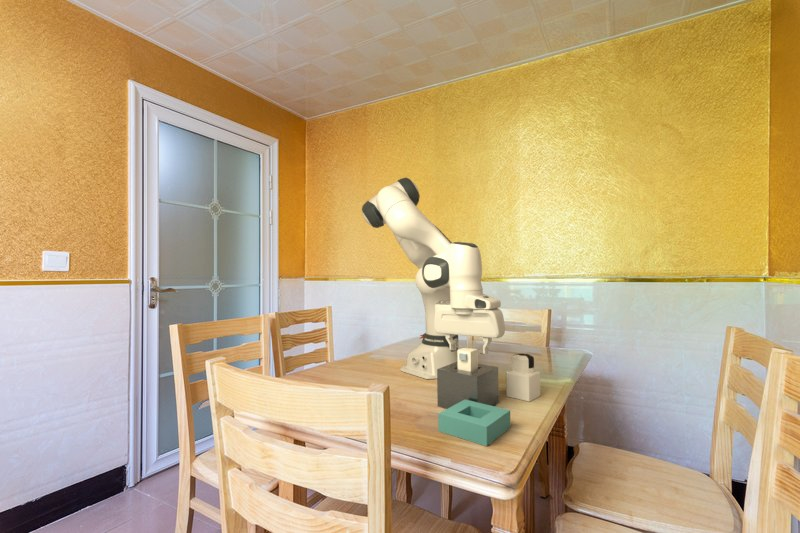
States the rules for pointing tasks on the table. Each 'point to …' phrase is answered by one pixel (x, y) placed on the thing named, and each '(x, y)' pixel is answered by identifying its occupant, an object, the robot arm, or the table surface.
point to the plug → (468, 359)
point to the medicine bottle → (523, 378)
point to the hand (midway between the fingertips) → (468, 352)
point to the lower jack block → (474, 421)
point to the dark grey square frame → (467, 385)
